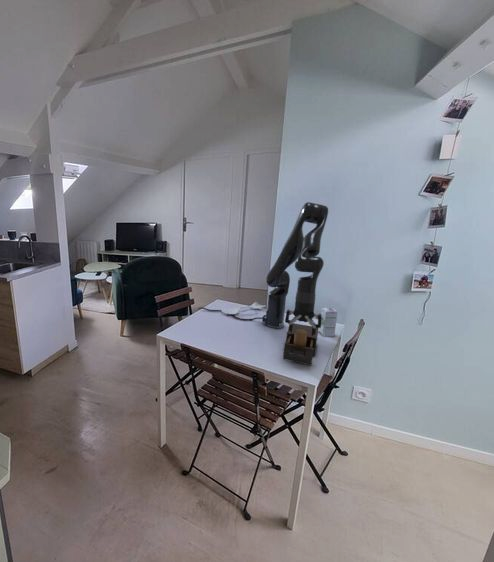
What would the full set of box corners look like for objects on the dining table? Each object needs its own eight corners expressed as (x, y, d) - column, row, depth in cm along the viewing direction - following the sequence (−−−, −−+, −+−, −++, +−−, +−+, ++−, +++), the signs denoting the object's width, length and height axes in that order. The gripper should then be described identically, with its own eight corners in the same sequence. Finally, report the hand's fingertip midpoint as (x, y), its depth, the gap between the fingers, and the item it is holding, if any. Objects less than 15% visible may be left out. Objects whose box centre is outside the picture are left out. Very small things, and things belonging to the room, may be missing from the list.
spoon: (266, 309, 211) (266, 304, 210) (227, 317, 201) (227, 312, 200) (256, 305, 220) (256, 301, 219) (218, 313, 209) (218, 308, 208)
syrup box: (334, 336, 168) (338, 311, 165) (322, 336, 170) (326, 311, 166) (330, 332, 174) (333, 307, 170) (318, 331, 175) (321, 307, 171)
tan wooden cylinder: (291, 355, 147) (294, 332, 144) (293, 351, 151) (295, 328, 148) (304, 358, 144) (306, 334, 141) (305, 353, 148) (307, 330, 145)
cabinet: (314, 356, 149) (316, 338, 146) (284, 350, 156) (286, 332, 153) (316, 344, 160) (318, 327, 158) (288, 339, 167) (290, 322, 165)
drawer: (310, 369, 137) (312, 353, 135) (281, 362, 143) (283, 347, 141) (313, 352, 151) (315, 337, 149) (287, 347, 157) (288, 333, 155)
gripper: (324, 299, 139) (320, 333, 143) (288, 295, 147) (285, 327, 151) (323, 304, 133) (319, 339, 138) (286, 300, 141) (283, 333, 145)
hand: (301, 333), depth 144 cm, fingers open, 8 cm apart
